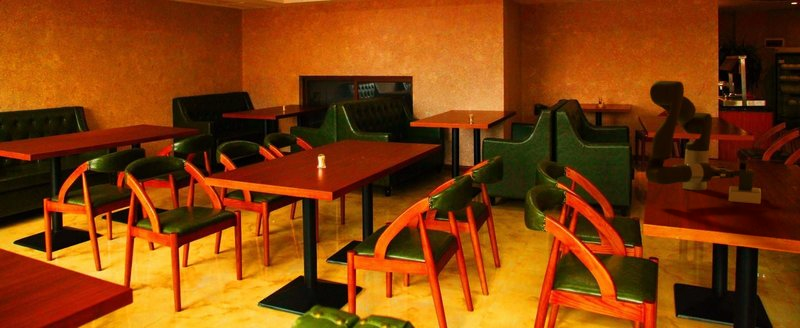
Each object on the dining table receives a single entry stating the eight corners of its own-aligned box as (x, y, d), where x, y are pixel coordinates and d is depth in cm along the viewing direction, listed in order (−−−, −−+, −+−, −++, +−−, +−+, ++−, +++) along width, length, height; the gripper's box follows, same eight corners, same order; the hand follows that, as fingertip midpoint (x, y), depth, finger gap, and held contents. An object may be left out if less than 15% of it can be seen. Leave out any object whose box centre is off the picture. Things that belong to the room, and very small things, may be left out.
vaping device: (738, 188, 253) (740, 158, 251) (752, 189, 250) (755, 160, 248) (736, 189, 251) (739, 159, 249) (751, 190, 248) (754, 160, 246)
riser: (728, 200, 249) (729, 190, 248) (728, 195, 259) (729, 185, 258) (760, 203, 244) (761, 193, 243) (759, 198, 253) (760, 188, 253)
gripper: (709, 166, 237) (746, 164, 240) (685, 160, 251) (720, 159, 254) (708, 185, 238) (744, 183, 242) (683, 179, 252) (718, 177, 255)
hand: (731, 171), depth 248 cm, fingers open, 8 cm apart
